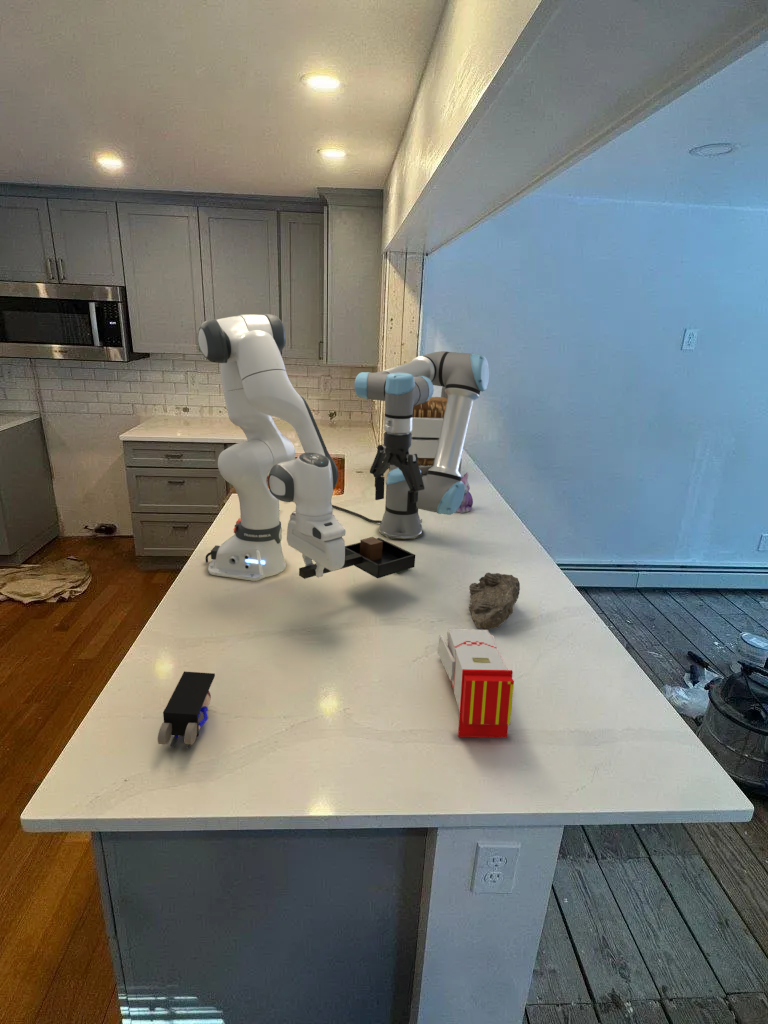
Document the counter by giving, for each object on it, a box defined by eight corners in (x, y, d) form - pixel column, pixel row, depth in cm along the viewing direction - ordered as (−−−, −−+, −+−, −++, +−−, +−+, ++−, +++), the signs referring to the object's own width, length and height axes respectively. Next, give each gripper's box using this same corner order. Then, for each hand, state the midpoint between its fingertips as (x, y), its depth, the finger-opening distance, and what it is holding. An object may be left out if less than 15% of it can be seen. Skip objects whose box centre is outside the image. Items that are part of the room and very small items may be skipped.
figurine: (459, 514, 221) (463, 477, 216) (445, 506, 229) (448, 470, 224) (479, 511, 225) (483, 475, 220) (464, 503, 234) (467, 468, 228)
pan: (285, 573, 144) (285, 559, 143) (378, 549, 164) (379, 536, 163) (319, 596, 134) (319, 581, 132) (414, 567, 153) (415, 553, 152)
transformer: (382, 463, 289) (386, 382, 275) (445, 464, 293) (451, 384, 279) (390, 482, 257) (394, 392, 243) (460, 483, 261) (468, 394, 247)
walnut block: (359, 556, 157) (360, 539, 155) (371, 553, 159) (372, 536, 158) (369, 561, 153) (370, 544, 152) (381, 558, 156) (383, 541, 155)
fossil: (461, 576, 160) (507, 550, 155) (480, 600, 163) (525, 575, 158) (463, 624, 140) (516, 596, 135) (485, 650, 143) (537, 624, 138)
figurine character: (198, 762, 99) (219, 698, 112) (193, 731, 96) (215, 669, 109) (159, 761, 99) (184, 698, 112) (153, 730, 95) (180, 668, 109)
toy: (488, 613, 130) (523, 677, 101) (484, 667, 133) (517, 744, 104) (435, 612, 130) (455, 676, 101) (432, 666, 133) (451, 743, 103)
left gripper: (280, 511, 141) (281, 562, 146) (327, 537, 127) (327, 592, 132) (301, 506, 145) (301, 556, 150) (350, 531, 131) (348, 585, 135)
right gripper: (358, 425, 159) (357, 496, 167) (419, 443, 142) (415, 522, 150) (378, 422, 164) (377, 491, 172) (440, 439, 146) (435, 516, 154)
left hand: (314, 573), depth 141 cm, fingers closed on pan, 2 cm apart
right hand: (394, 505), depth 161 cm, fingers open, 13 cm apart
